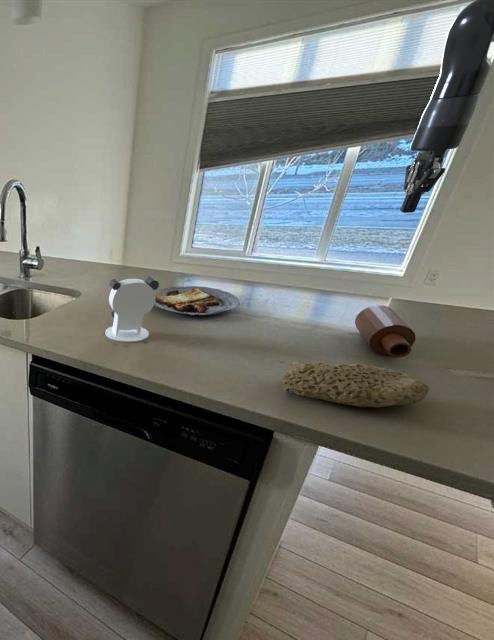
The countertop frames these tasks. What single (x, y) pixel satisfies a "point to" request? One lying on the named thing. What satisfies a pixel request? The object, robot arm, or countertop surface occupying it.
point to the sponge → (354, 384)
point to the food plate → (195, 300)
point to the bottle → (385, 331)
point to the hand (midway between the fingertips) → (406, 212)
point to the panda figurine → (130, 308)
